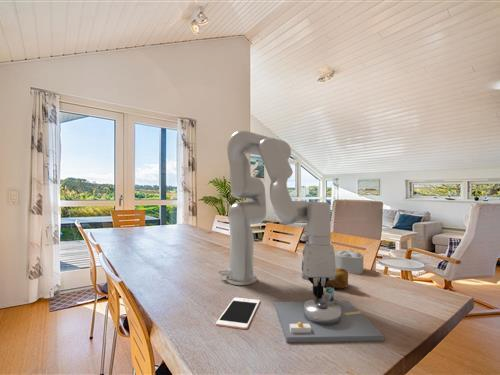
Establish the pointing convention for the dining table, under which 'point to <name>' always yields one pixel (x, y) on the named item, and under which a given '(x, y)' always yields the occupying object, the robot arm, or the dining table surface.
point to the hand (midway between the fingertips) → (318, 297)
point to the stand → (307, 331)
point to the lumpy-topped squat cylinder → (349, 261)
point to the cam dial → (323, 309)
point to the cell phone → (238, 313)
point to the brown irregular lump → (338, 279)
